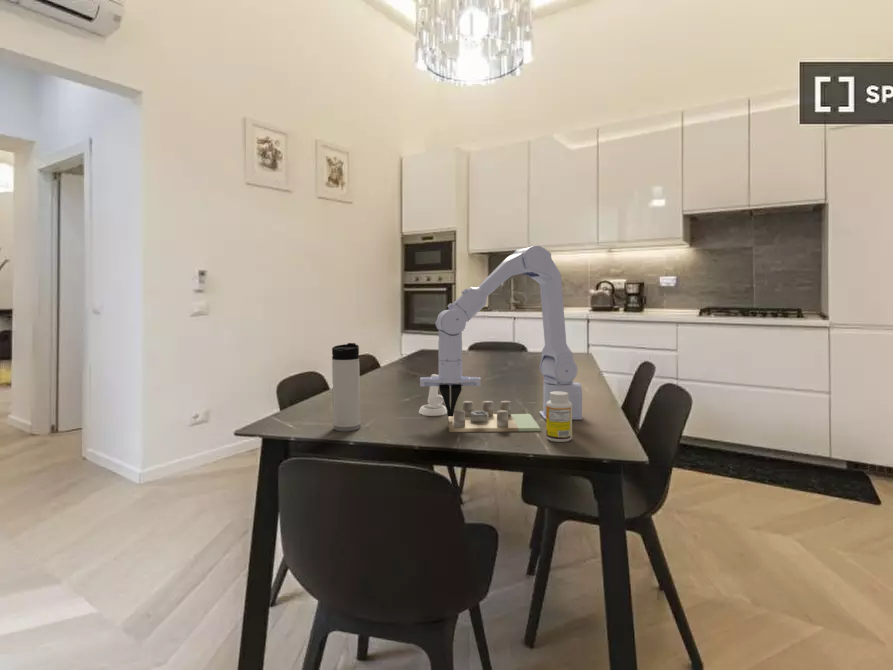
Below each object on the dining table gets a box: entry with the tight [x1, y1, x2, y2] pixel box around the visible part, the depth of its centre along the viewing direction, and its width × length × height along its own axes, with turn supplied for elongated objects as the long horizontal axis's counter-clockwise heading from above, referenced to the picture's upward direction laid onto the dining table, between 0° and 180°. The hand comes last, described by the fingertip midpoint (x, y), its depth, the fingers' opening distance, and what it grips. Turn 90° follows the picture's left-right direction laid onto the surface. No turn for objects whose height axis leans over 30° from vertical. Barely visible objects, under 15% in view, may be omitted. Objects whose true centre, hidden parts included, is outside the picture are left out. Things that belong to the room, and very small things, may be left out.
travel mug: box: [331, 342, 361, 433], centre depth 124 cm, size 6×7×20 cm
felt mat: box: [511, 413, 541, 432], centre depth 128 cm, size 5×14×1 cm, turn 0°
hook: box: [418, 373, 448, 417], centre depth 143 cm, size 8×12×7 cm
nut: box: [470, 410, 488, 423], centre depth 128 cm, size 5×4×2 cm
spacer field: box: [447, 400, 520, 433], centre depth 128 cm, size 16×14×4 cm
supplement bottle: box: [545, 391, 573, 443], centre depth 115 cm, size 6×6×10 cm
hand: (450, 415), depth 128 cm, fingers closed
